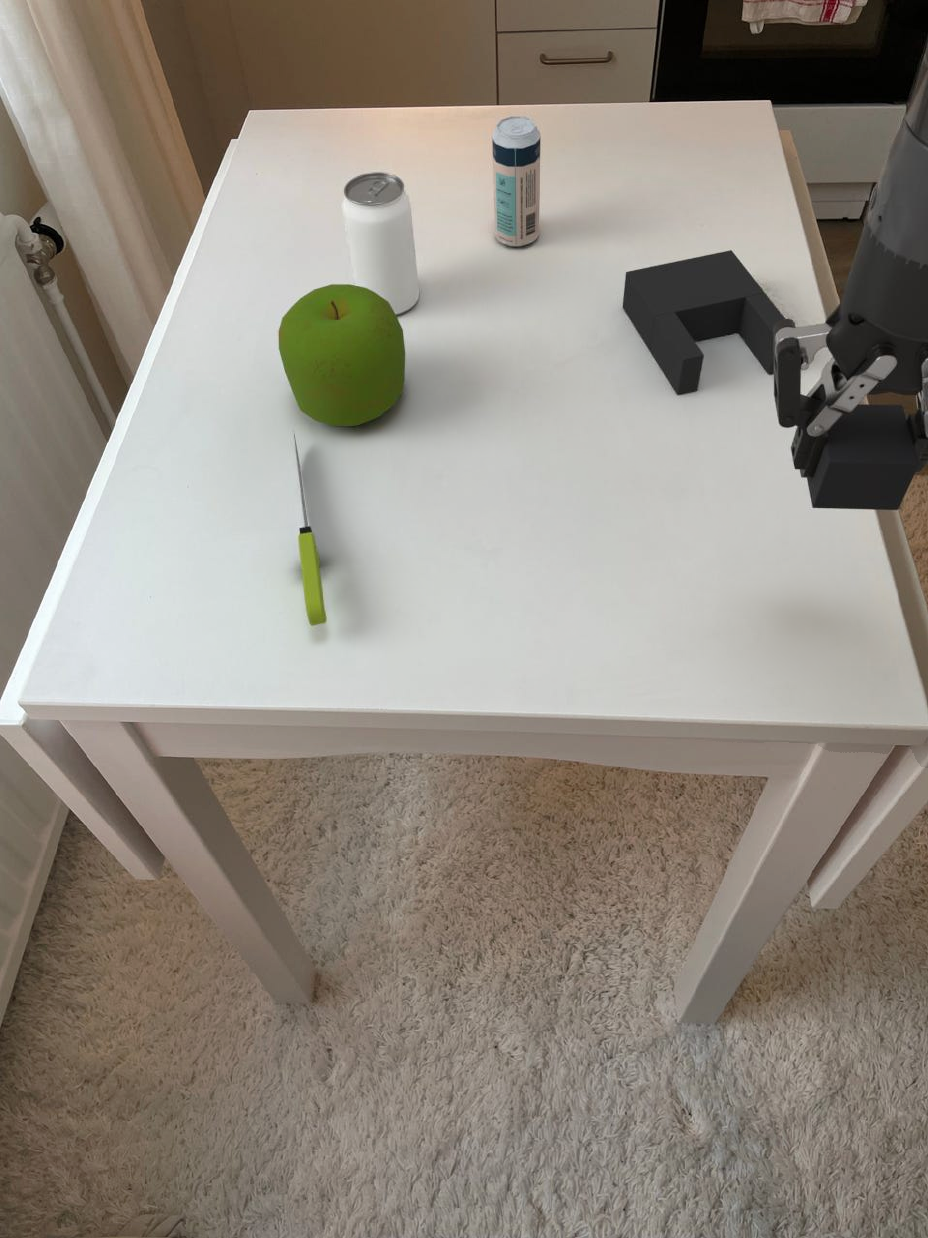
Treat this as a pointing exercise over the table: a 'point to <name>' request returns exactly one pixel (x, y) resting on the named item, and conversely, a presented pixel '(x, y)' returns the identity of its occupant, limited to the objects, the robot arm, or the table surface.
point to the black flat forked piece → (698, 312)
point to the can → (381, 238)
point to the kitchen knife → (310, 565)
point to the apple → (343, 354)
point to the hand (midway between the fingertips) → (852, 468)
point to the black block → (865, 461)
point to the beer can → (516, 180)
